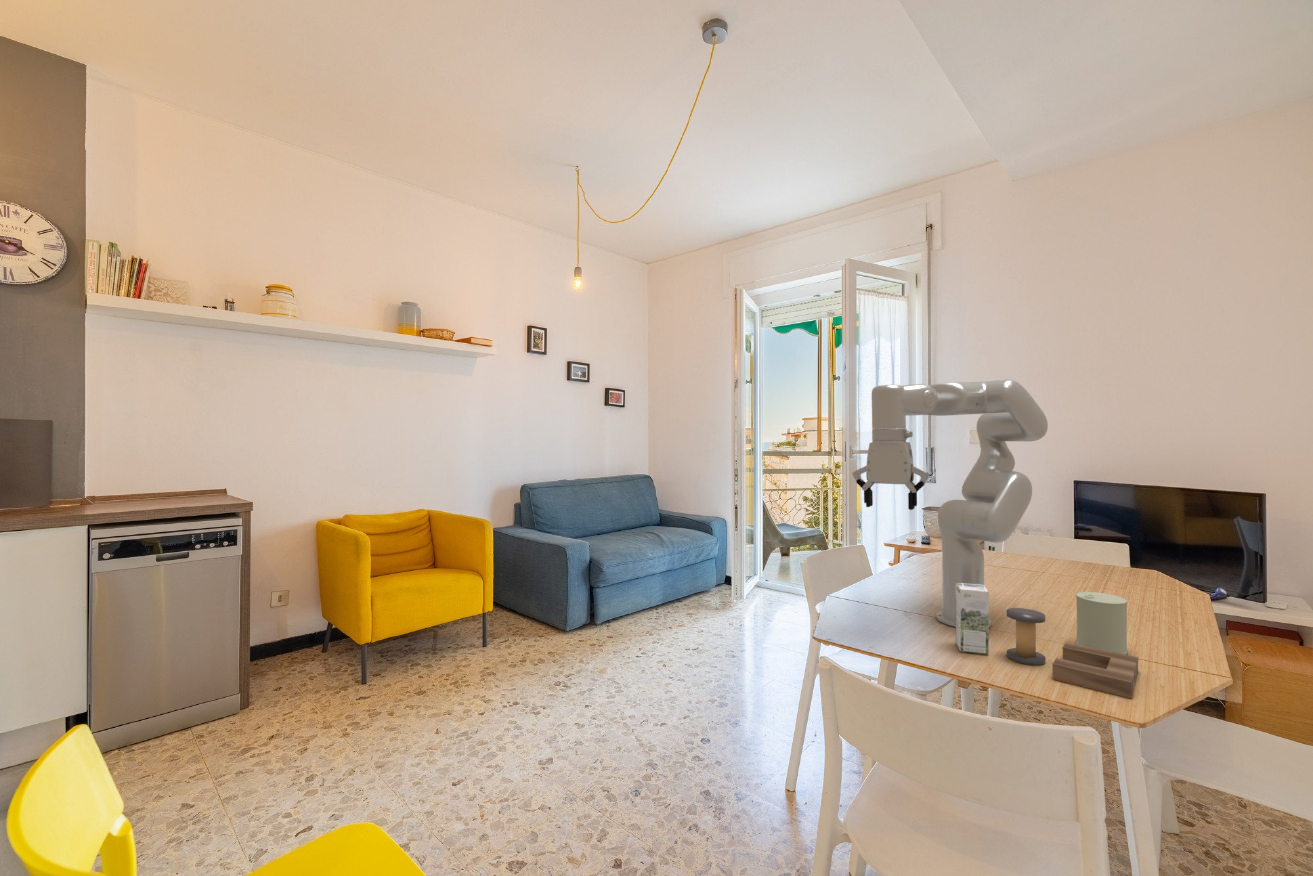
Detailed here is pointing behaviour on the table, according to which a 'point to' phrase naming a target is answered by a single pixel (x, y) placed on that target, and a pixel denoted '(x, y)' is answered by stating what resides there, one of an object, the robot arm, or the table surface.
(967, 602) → the syrup box
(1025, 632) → the gray-flanged bobbin
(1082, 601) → the can
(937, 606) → the table surface
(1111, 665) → the notched board
